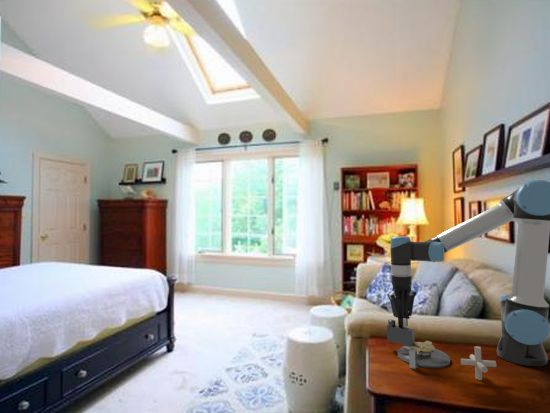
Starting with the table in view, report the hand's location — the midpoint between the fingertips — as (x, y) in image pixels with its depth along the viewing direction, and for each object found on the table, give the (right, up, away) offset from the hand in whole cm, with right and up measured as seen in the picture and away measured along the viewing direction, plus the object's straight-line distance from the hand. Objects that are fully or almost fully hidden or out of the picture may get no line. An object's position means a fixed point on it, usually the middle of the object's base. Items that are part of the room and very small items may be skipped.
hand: (403, 334), depth 133 cm
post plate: (+3, -6, -9) cm, 11 cm away
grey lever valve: (+1, -2, -4) cm, 5 cm away
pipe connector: (+15, -5, -25) cm, 29 cm away
